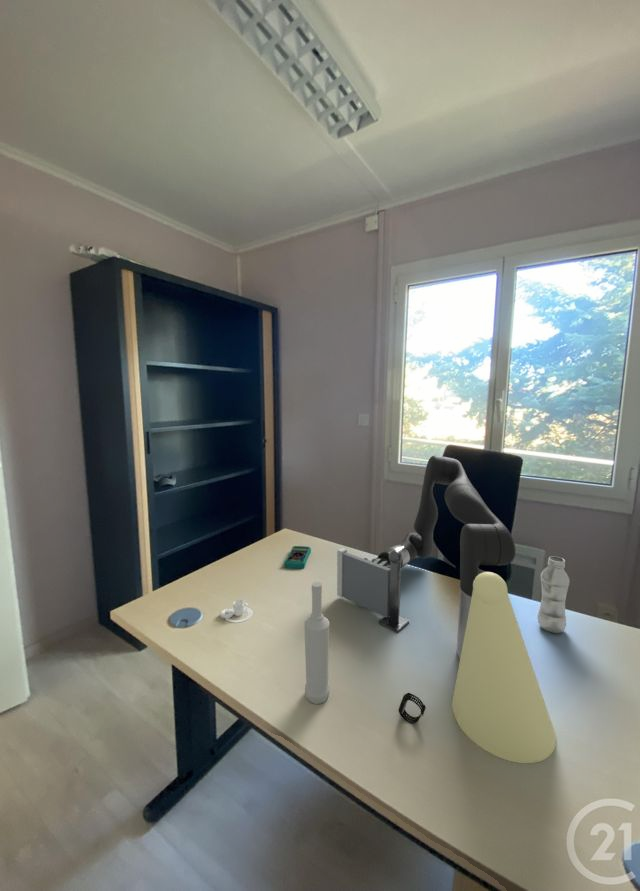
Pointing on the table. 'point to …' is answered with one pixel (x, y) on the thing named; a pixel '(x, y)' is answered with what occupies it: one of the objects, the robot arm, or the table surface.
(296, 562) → the digital multimeter
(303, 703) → the table surface
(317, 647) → the bottle
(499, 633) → the cone light
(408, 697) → the smartwatch
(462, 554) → the robot arm
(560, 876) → the table surface
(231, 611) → the teacup and saucer
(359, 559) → the gate
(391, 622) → the gate post
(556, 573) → the plastic bottle
